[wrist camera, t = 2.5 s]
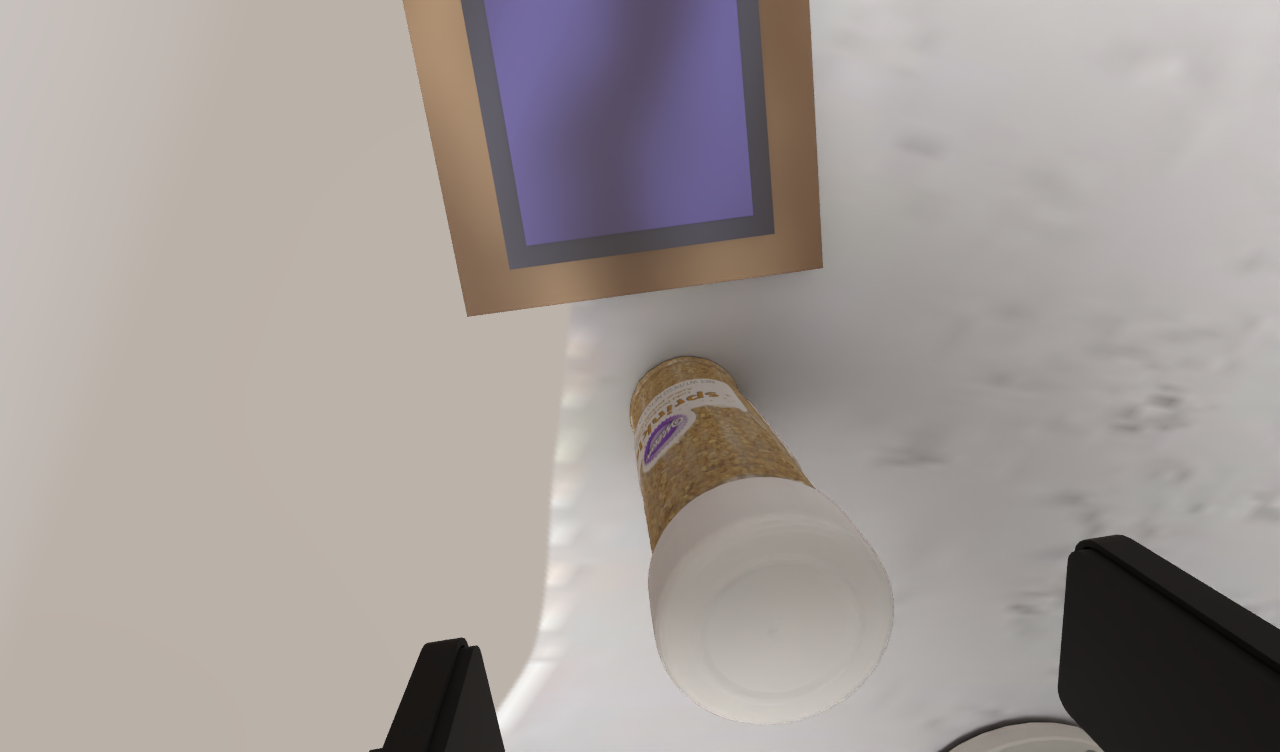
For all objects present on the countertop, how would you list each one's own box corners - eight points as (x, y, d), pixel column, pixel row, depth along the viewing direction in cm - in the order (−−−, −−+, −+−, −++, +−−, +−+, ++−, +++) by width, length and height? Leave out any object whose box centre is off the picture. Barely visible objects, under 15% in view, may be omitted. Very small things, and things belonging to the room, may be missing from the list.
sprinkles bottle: (659, 335, 23) (729, 478, 10) (761, 384, 24) (951, 576, 11) (609, 436, 24) (612, 690, 11) (708, 480, 25) (823, 768, 12)
